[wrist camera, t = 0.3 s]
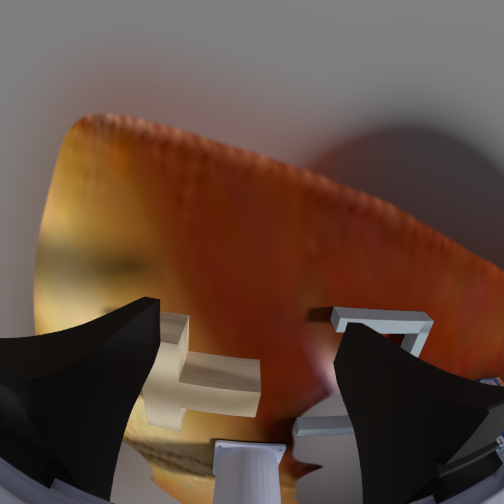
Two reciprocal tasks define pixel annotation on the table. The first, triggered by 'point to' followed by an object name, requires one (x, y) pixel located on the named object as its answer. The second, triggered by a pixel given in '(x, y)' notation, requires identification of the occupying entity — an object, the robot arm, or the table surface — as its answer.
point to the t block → (196, 379)
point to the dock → (382, 322)
